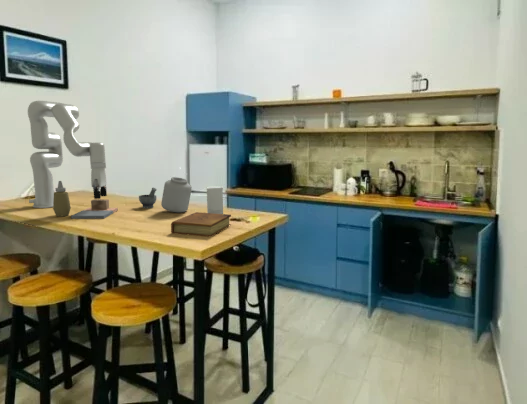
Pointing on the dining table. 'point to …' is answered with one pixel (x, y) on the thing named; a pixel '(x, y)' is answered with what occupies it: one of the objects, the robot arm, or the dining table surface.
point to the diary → (201, 224)
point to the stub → (100, 205)
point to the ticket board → (92, 214)
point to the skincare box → (215, 200)
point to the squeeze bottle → (61, 201)
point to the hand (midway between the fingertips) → (100, 197)
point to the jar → (176, 195)
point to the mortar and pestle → (148, 199)
